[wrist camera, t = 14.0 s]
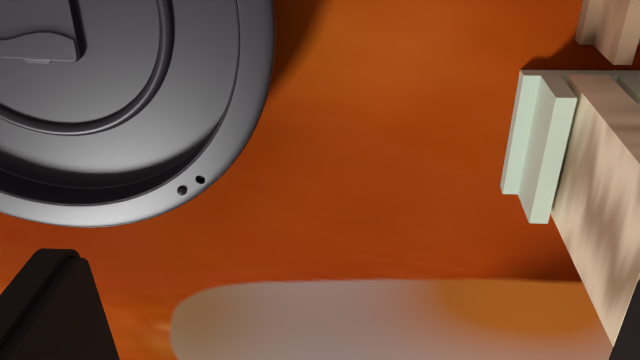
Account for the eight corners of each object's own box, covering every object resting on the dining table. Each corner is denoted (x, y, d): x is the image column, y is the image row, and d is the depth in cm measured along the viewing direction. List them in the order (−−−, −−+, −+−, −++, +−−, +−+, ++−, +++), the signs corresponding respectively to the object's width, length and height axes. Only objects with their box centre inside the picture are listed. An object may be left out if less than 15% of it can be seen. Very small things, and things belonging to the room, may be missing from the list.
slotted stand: (520, 69, 36) (537, 97, 32) (648, 70, 35) (682, 98, 31) (500, 186, 41) (513, 222, 37) (613, 188, 40) (638, 226, 36)
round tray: (293, 195, 43) (279, -314, 27) (282, 243, 38) (257, -348, 22) (-71, 177, 45) (-283, -305, 29) (-128, 220, 40) (-420, -334, 24)
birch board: (567, 74, 35) (666, 197, 23) (608, 74, 35) (730, 199, 23) (541, 193, 40) (612, 346, 28) (577, 194, 39) (665, 348, 28)
